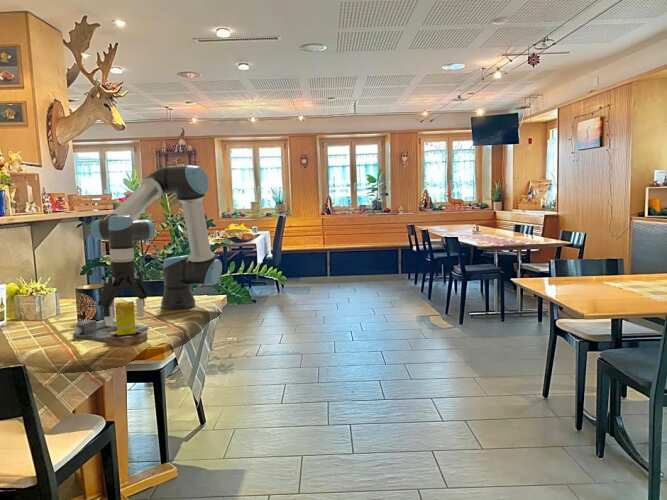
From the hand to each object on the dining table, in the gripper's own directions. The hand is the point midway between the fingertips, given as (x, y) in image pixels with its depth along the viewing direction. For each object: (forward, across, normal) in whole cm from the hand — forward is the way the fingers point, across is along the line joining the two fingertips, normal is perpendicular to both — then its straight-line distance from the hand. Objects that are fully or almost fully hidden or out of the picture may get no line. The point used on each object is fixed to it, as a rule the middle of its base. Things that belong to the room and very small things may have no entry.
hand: (125, 321), depth 173 cm
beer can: (+8, -22, -37) cm, 44 cm away
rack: (+7, 0, 0) cm, 7 cm away
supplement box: (+5, 0, 0) cm, 5 cm away
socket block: (+7, -6, -14) cm, 17 cm away
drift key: (+6, -3, -20) cm, 21 cm away
